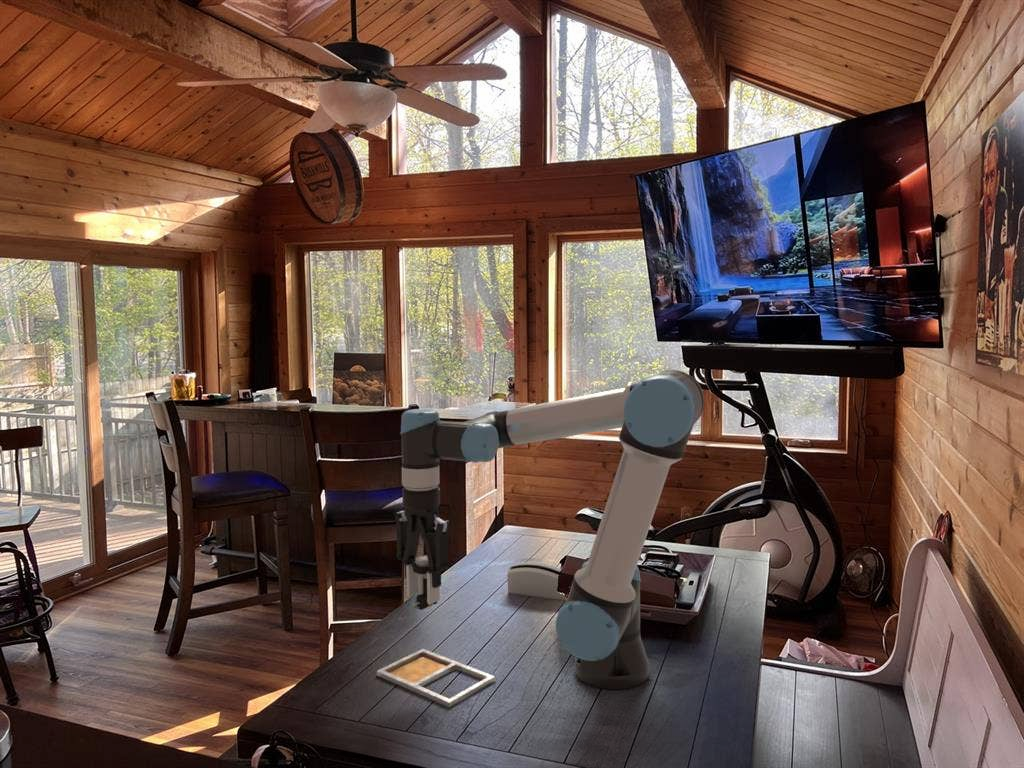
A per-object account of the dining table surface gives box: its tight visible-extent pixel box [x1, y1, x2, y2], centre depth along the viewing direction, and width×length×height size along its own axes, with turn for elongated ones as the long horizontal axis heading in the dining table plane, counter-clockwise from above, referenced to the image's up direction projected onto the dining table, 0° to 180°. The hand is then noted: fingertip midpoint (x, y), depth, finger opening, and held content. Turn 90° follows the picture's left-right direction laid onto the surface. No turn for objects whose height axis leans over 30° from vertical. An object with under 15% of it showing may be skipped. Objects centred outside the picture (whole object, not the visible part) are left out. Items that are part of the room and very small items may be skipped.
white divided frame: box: [376, 648, 496, 708], centre depth 156 cm, size 21×13×1 cm, turn 50°
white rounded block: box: [506, 561, 567, 602], centre depth 200 cm, size 17×5×10 cm, turn 67°
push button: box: [410, 554, 438, 611], centre depth 155 cm, size 7×5×10 cm
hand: (423, 598), depth 156 cm, fingers closed on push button, 5 cm apart
